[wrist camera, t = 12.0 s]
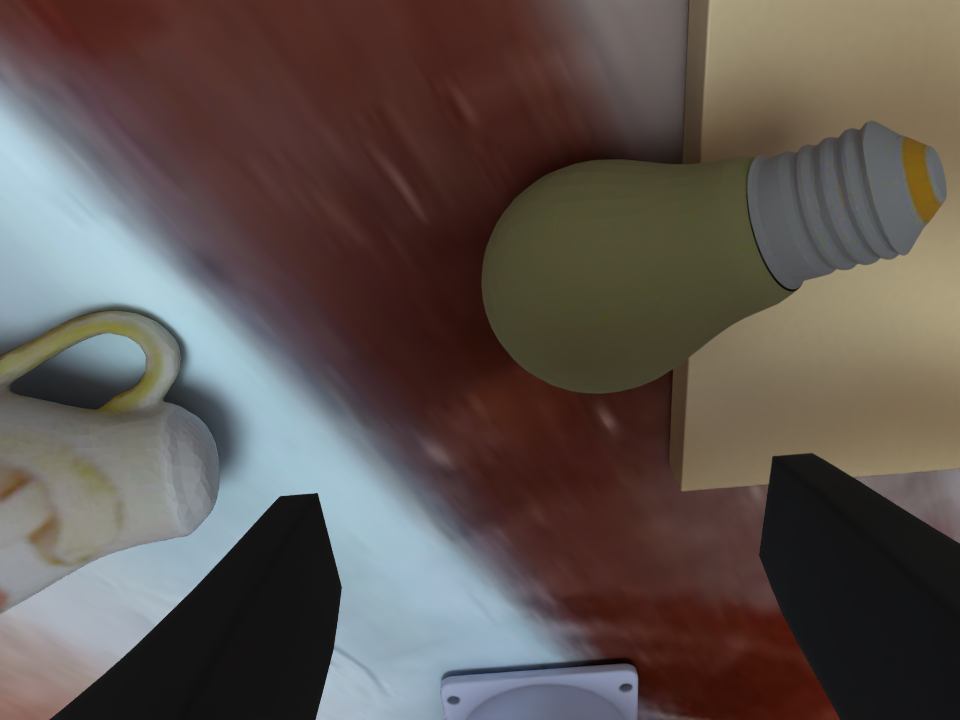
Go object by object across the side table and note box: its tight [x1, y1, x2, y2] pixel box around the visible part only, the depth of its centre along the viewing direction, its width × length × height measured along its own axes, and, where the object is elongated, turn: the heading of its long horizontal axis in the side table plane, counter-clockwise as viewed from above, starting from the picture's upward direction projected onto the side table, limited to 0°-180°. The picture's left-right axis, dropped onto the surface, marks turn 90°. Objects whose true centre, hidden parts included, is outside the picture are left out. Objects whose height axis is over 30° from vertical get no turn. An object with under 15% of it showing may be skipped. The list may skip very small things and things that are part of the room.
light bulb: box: [481, 121, 947, 394], centre depth 14 cm, size 6×6×10 cm
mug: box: [0, 311, 220, 614], centre depth 19 cm, size 8×10×10 cm
